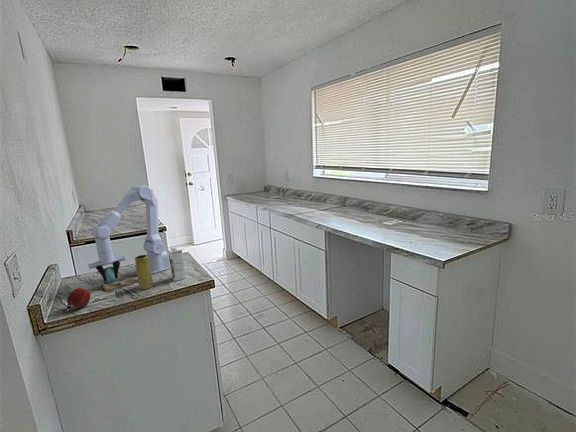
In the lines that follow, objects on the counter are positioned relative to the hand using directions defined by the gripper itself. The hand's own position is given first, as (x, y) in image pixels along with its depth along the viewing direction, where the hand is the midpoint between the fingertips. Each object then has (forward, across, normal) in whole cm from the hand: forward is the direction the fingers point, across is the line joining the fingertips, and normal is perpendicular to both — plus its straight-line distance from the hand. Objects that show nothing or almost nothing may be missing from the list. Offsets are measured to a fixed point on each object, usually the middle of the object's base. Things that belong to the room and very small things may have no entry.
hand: (110, 279), depth 138 cm
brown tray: (+3, -4, 0) cm, 5 cm away
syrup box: (+3, -26, +16) cm, 30 cm away
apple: (+3, +13, +14) cm, 20 cm away
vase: (+3, -11, +14) cm, 18 cm away
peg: (+2, 0, 0) cm, 2 cm away
